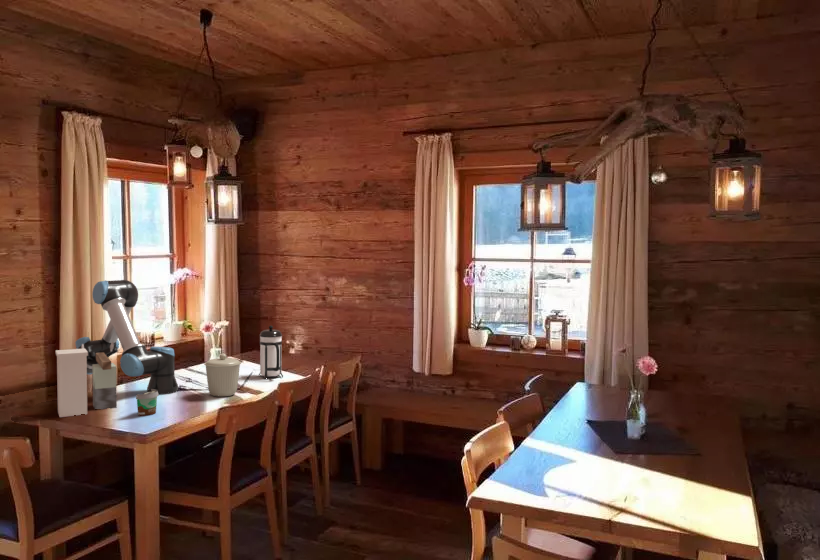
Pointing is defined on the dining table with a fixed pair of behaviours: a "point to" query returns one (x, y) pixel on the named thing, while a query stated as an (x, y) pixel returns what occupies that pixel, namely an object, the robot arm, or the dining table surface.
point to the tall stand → (72, 382)
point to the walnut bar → (103, 361)
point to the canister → (222, 375)
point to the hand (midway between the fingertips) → (98, 345)
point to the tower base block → (104, 398)
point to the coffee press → (270, 353)
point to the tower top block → (104, 376)
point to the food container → (147, 403)
